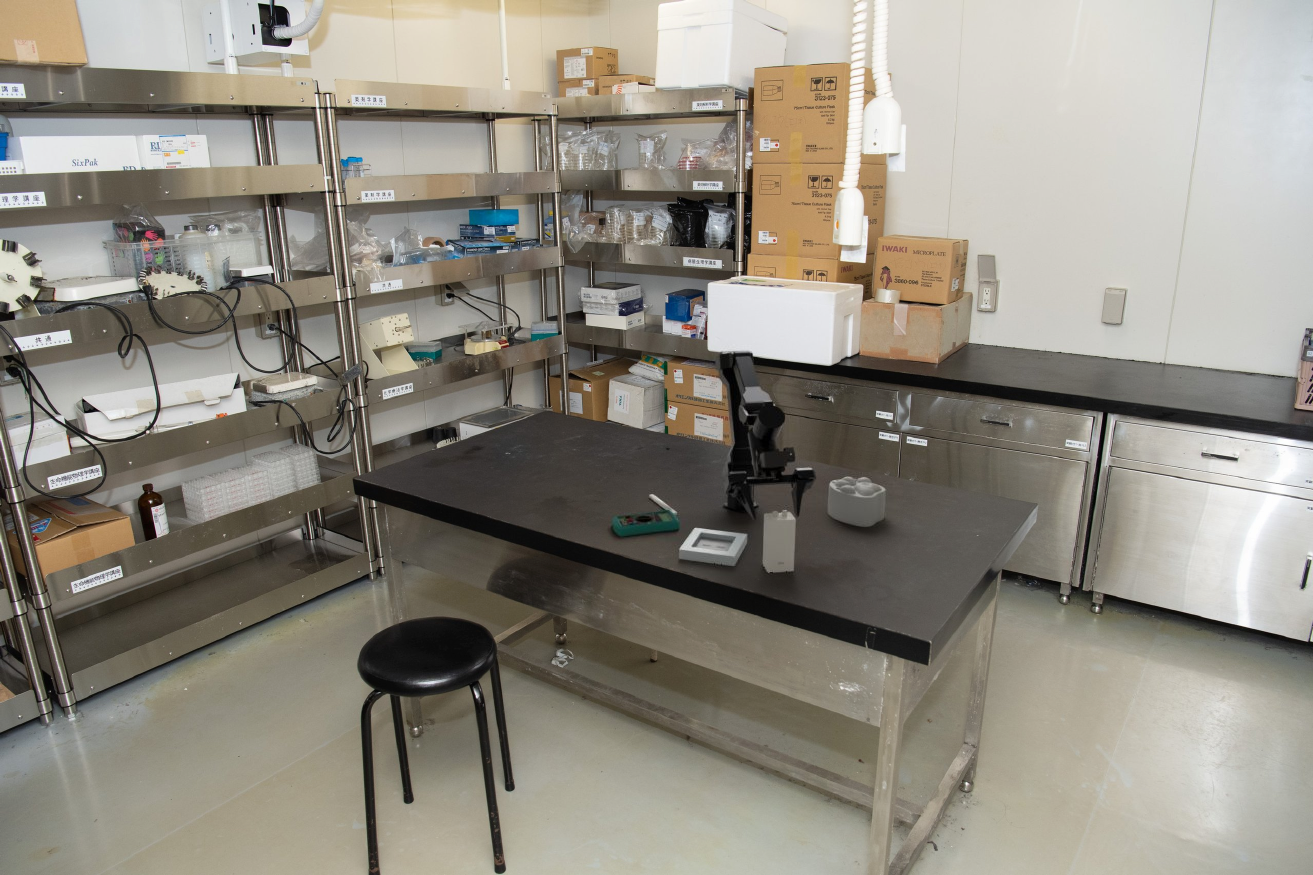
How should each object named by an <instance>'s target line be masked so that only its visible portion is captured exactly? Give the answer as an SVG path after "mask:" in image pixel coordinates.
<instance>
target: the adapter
mask: <svg viewBox="0 0 1313 875" xmlns="http://www.w3.org/2000/svg"><path fill="white" fill-rule="evenodd" d="M796 520H797V519H796V517H795V516H794V515H793V513H791V511H788V510H787V509H785V510H784V509H783V510H782V511H781V512H779V511H778V510H773V511H772V512H769V513H768V512H767V513H763V541H762V542H763V543H762V545H763V546H762V566H763V568H764V567H765V568H764V569H765V571H766V572H768V573H767V574H769V573H770V572H773V573H785V572H786V571H787V572H794V570H795V550H796V549H795V548H796V547H795V546H796V525H797V524H796V523H797V522H796ZM770 574H771V573H770Z"/></svg>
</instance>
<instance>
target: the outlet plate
mask: <svg viewBox="0 0 1313 875" xmlns="http://www.w3.org/2000/svg"><path fill="white" fill-rule="evenodd" d="M747 544H748V533H741V532H734V531H733V532H731V531H725V530H716V529H709V528H708V529H706V528H700V527H695V528H693V529H692V531H691V532H690V534H689V535H688V536H687V538H686V539H685V541H684V542H683V544H682V545H681V546H680V548H679V549H678V551H679V552H678V554H679V555H678V558H679V560H685V561H693V562H699V563H700V562H701V563H708V564H714V563H715V565H721V564H722V565H723V566H730V567H735V566H736V565H737V563H738V560H739V558H740V557H741V555H742V553H743V551H744V549H745V548H746V547H747Z"/></svg>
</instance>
